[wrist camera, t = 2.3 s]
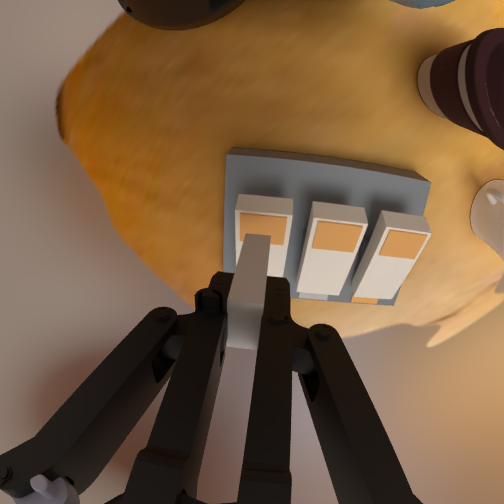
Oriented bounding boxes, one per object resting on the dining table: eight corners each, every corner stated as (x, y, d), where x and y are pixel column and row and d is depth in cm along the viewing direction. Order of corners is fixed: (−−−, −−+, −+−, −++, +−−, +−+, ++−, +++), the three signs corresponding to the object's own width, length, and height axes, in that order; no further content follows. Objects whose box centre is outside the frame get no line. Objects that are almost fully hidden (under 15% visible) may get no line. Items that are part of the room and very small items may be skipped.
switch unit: (233, 147, 30) (223, 156, 26) (416, 172, 29) (436, 185, 25) (228, 271, 38) (220, 297, 33) (385, 286, 36) (396, 311, 32)
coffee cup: (462, 39, 21) (550, 28, 8) (486, 120, 25) (576, 150, 12) (391, 51, 23) (467, 26, 10) (420, 138, 27) (504, 176, 14)
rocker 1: (238, 193, 25) (234, 211, 23) (293, 199, 24) (292, 217, 23) (239, 270, 32) (236, 287, 31) (281, 274, 32) (280, 291, 30)
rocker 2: (312, 201, 24) (313, 219, 23) (364, 207, 24) (368, 226, 23) (296, 275, 32) (296, 293, 30) (337, 279, 32) (338, 297, 30)
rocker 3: (381, 210, 24) (386, 228, 22) (425, 217, 24) (432, 234, 22) (351, 281, 31) (353, 298, 30) (388, 284, 31) (391, 301, 30)
